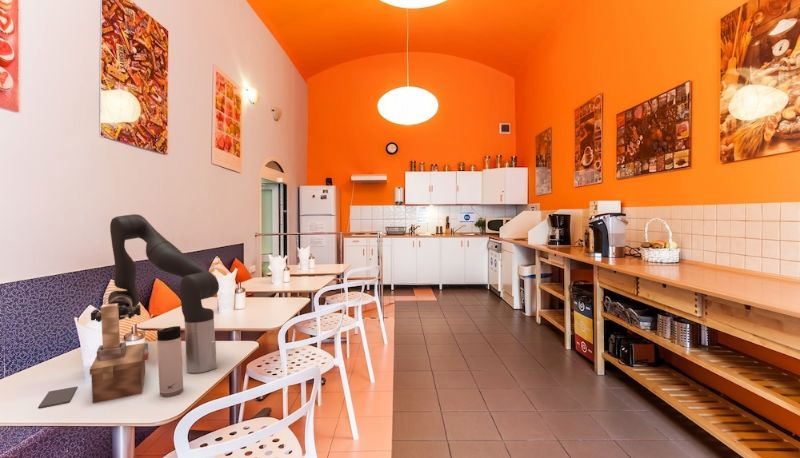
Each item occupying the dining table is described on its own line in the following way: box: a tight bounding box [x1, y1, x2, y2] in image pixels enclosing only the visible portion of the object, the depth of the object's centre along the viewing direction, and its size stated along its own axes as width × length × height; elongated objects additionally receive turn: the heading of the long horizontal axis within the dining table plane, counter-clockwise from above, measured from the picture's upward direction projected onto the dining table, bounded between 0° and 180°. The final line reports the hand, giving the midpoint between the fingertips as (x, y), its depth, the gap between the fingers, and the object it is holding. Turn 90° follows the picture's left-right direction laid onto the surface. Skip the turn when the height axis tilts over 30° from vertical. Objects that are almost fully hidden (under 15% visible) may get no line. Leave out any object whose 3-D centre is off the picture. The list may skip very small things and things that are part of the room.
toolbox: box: [89, 341, 146, 404], centre depth 131 cm, size 13×21×13 cm, turn 29°
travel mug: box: [156, 325, 184, 398], centre depth 125 cm, size 6×7×20 cm
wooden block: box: [100, 303, 121, 350], centre depth 130 cm, size 4×4×16 cm
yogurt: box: [144, 342, 149, 361], centre depth 150 cm, size 12×2×6 cm, turn 2°
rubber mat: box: [37, 386, 79, 409], centre depth 124 cm, size 7×12×1 cm, turn 29°
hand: (114, 317), depth 139 cm, fingers open, 8 cm apart
